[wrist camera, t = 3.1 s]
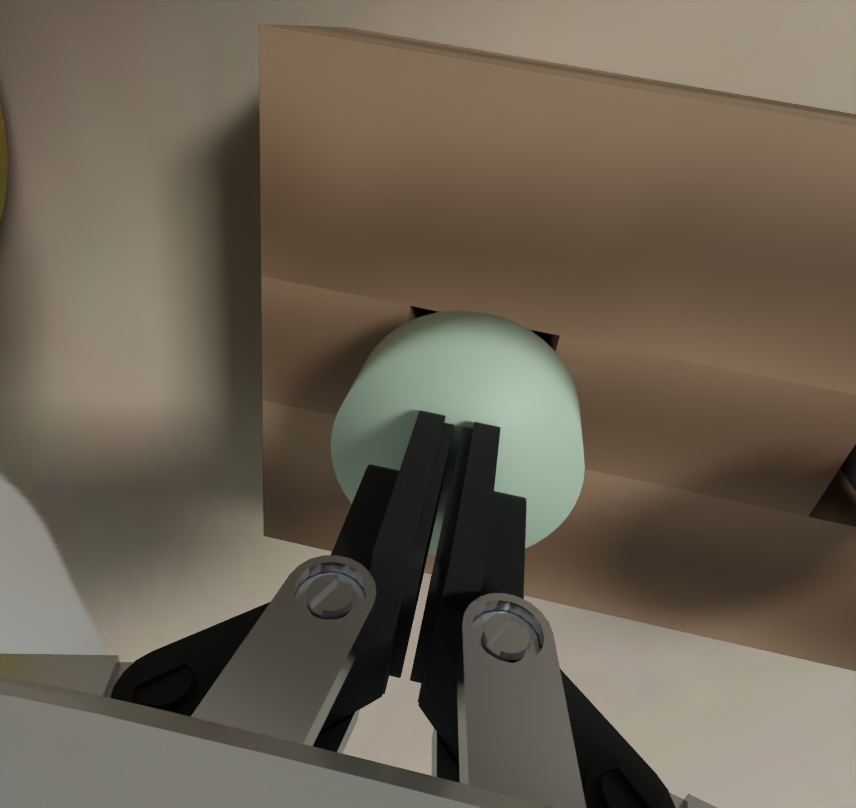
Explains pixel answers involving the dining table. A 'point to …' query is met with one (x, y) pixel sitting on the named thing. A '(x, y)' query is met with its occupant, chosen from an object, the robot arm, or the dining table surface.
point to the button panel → (583, 310)
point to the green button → (469, 410)
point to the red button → (850, 467)
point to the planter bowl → (3, 162)
